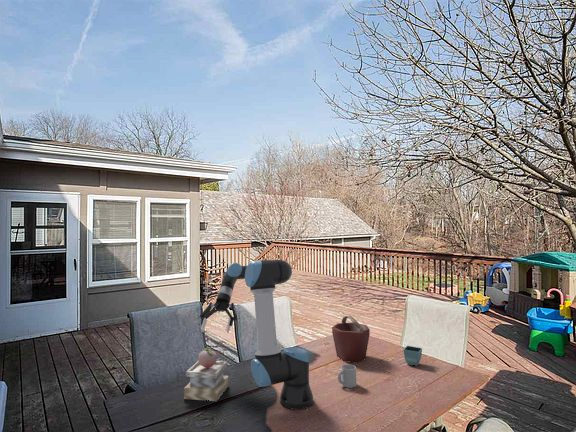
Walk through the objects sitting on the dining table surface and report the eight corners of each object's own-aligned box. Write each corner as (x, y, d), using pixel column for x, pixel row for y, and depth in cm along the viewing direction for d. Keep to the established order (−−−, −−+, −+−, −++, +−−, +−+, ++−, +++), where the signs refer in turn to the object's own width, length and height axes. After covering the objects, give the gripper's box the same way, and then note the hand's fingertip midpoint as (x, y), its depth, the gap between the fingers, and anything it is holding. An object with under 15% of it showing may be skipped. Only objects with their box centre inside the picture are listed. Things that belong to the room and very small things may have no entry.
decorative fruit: (194, 368, 167) (194, 347, 168) (208, 364, 173) (208, 343, 174) (205, 374, 161) (205, 352, 161) (219, 369, 167) (219, 348, 167)
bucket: (372, 365, 200) (372, 321, 201) (334, 365, 200) (334, 321, 201) (364, 351, 224) (363, 312, 225) (330, 351, 224) (329, 312, 226)
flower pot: (422, 363, 202) (422, 347, 203) (419, 368, 195) (419, 352, 195) (407, 360, 207) (407, 345, 207) (403, 365, 199) (403, 349, 200)
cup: (359, 386, 172) (358, 368, 172) (342, 390, 168) (341, 371, 168) (351, 381, 178) (350, 363, 179) (334, 384, 174) (334, 366, 175)
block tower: (228, 386, 173) (228, 361, 174) (217, 401, 157) (217, 373, 158) (198, 384, 175) (198, 359, 176) (184, 398, 159) (184, 372, 160)
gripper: (247, 300, 194) (239, 335, 178) (205, 299, 197) (193, 333, 182) (244, 292, 189) (236, 327, 173) (201, 291, 192) (189, 326, 177)
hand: (214, 330), depth 177 cm, fingers open, 13 cm apart
